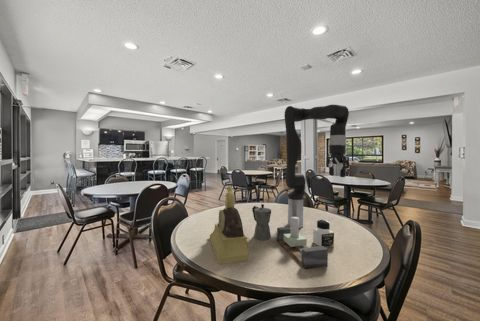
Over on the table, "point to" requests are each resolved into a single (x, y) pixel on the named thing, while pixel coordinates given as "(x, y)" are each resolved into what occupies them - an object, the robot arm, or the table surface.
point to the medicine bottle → (323, 234)
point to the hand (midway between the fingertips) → (336, 176)
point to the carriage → (294, 234)
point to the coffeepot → (262, 222)
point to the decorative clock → (229, 234)
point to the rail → (304, 252)
